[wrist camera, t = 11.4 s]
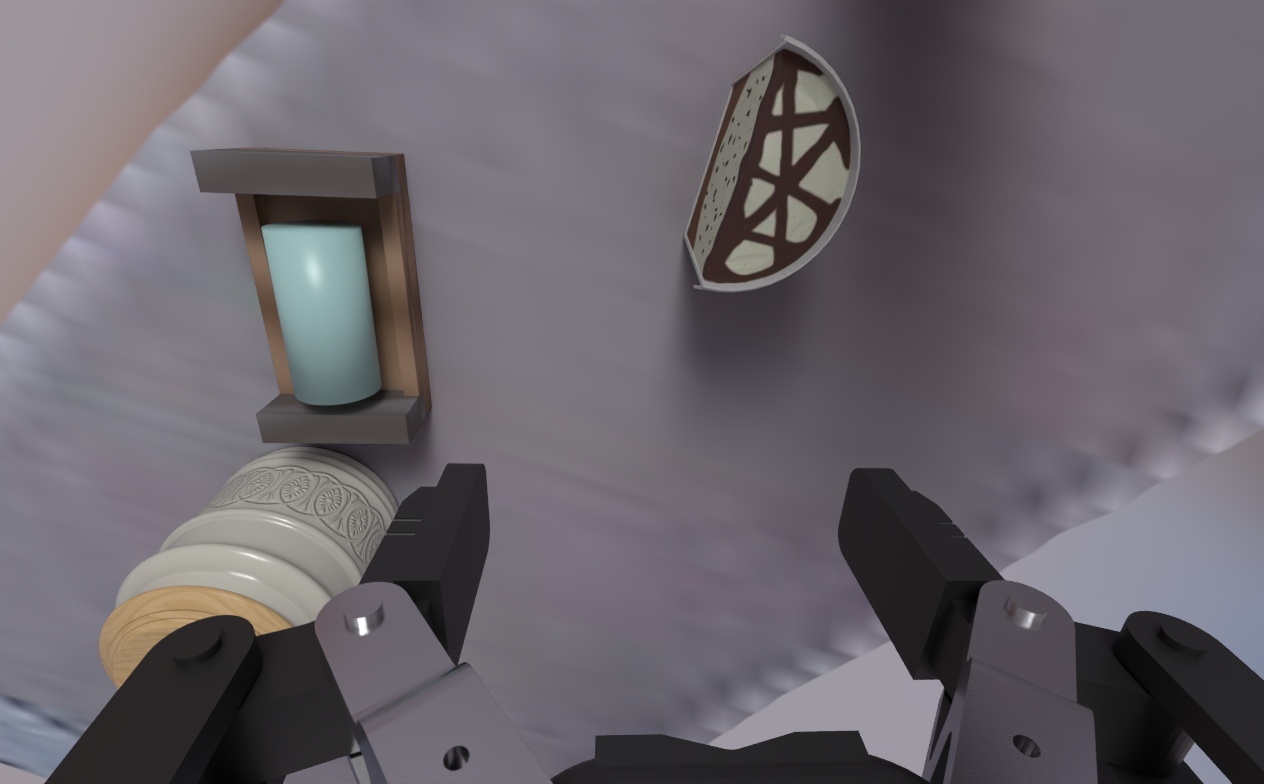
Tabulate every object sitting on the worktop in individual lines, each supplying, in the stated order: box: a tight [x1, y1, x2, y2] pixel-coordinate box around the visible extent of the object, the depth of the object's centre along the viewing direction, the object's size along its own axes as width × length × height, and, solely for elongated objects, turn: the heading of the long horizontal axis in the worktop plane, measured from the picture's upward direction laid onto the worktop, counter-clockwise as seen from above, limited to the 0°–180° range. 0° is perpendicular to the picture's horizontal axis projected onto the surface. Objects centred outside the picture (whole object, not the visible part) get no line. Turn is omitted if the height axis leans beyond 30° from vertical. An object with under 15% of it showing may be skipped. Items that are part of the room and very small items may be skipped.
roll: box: [261, 220, 382, 405], centre depth 35 cm, size 10×5×5 cm
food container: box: [683, 33, 861, 293], centre depth 32 cm, size 12×6×10 cm, turn 164°
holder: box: [190, 148, 432, 444], centre depth 36 cm, size 17×9×6 cm, turn 178°
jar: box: [99, 447, 399, 689], centre depth 38 cm, size 13×13×18 cm
